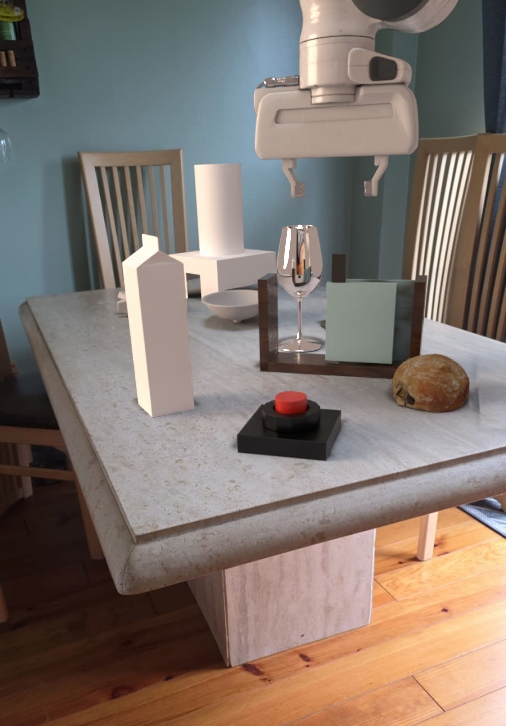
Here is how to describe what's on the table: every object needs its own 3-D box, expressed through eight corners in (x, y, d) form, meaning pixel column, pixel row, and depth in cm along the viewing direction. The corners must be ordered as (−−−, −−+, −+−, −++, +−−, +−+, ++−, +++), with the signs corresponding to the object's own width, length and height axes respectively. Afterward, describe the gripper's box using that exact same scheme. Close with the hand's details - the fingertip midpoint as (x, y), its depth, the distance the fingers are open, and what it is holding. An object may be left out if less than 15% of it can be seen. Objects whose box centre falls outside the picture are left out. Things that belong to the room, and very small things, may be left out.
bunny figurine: (118, 302, 130) (112, 283, 143) (120, 326, 133) (115, 305, 145) (162, 299, 133) (153, 280, 145) (164, 322, 135) (155, 301, 148)
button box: (340, 426, 75) (341, 395, 74) (325, 461, 67) (326, 427, 65) (261, 420, 78) (261, 390, 77) (237, 453, 70) (235, 419, 68)
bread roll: (383, 421, 86) (370, 376, 81) (424, 375, 90) (414, 330, 85) (446, 440, 79) (436, 393, 74) (487, 390, 83) (481, 342, 78)
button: (309, 406, 72) (309, 391, 71) (303, 417, 69) (303, 402, 68) (279, 404, 73) (279, 389, 72) (271, 414, 70) (271, 400, 69)
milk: (179, 397, 87) (165, 231, 78) (195, 410, 82) (183, 235, 74) (137, 404, 85) (118, 235, 76) (151, 418, 80) (133, 238, 71)
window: (392, 362, 93) (399, 253, 86) (391, 363, 92) (398, 254, 86) (326, 358, 96) (328, 253, 89) (325, 360, 95) (326, 253, 88)
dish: (205, 313, 137) (203, 290, 135) (270, 311, 137) (270, 288, 135) (200, 333, 121) (198, 307, 119) (274, 330, 121) (273, 304, 119)
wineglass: (268, 347, 109) (265, 227, 101) (297, 338, 114) (297, 223, 106) (302, 355, 104) (302, 229, 96) (331, 345, 109) (333, 225, 101)
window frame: (419, 368, 96) (427, 275, 90) (417, 380, 91) (425, 282, 85) (269, 360, 102) (268, 273, 97) (259, 371, 97) (257, 279, 91)
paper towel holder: (219, 304, 146) (211, 163, 133) (172, 295, 158) (161, 166, 146) (276, 292, 157) (274, 162, 144) (228, 285, 170) (222, 164, 157)
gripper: (245, 75, 74) (249, 199, 80) (421, 61, 69) (412, 196, 74) (260, 81, 80) (263, 197, 86) (424, 68, 74) (415, 194, 80)
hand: (333, 197), depth 80 cm, fingers open, 8 cm apart
